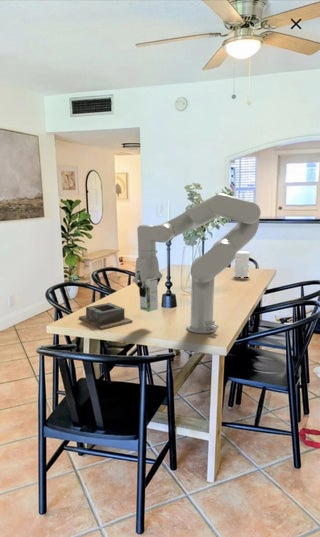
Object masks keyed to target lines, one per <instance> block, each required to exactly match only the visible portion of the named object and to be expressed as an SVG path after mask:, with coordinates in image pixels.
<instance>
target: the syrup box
mask: <svg viewBox="0 0 320 537" xmlns="http://www.w3.org/2000/svg"><path fill="white" fill-rule="evenodd" d="M141 284H142V283H141ZM144 288H145V297H141V296H140V295H139V303H140V306H139V308H140V311H144V312H148V313H150V312H153V311H156V310H158V309H159V308H158V307H159V303H158V285H157V277H153V278H148V279H146V281H145V285H144Z"/></svg>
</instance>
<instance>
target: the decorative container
mask: <svg viewBox="0 0 320 537" xmlns="http://www.w3.org/2000/svg"><path fill="white" fill-rule="evenodd" d="M250 254H251V252H250V251H245V250H243V251H241V250H239V251H238V252H237V253H236V254H235V258H234V270H233V271H234V272H233V273H234V274H233V275H232V277H233V276H234V277H233V278H235V277H248V276H249V277H250V275H249V267H250V266H249V264H250V261H249V260H250Z"/></svg>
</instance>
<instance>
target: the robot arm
mask: <svg viewBox="0 0 320 537" xmlns="http://www.w3.org/2000/svg"><path fill="white" fill-rule="evenodd" d="M260 216H261V209H260V206H259V205H258V204H257V203H255V202H253V201H249V200H245V199H242V198H238V197H234V196H231V195H228V194H226V193H216V194H215V195H213V196H211V197H210V198H208V199H206V200H203V201H201V202H200V203H198V204H196V205H193V206H191V207H190V208H188V209H187V210H185V211H183V213H181V214H180V215H177V216H175V217H174V218H172V219H170V220H167V221H166V222H163V223H161V224H157V225H153V224H141V225H138V227H137V230H136V231H137V252H138V254H137V256H138V257H137V258H136V262H135V276H134V278H133V279H132V282H133V283H134V284H135V285H136V286H137V287H138V291H139V297H140V296H141V297H145V288H144V285H145V281H146V279H148V278H153V277H157V286H159V284H160V283H159V282H160V281H161V279H162V278H163V274H162V273H161V271H160V264H159V260H158V256H157V253H158V250H157V248H156V247H157V246H156V243H163V244H164V243H168V242H169V241H171V240H172V239H174V238H176V237H177V236H179V235H181V234H183V233H186V232H187V231H191V230H194V229H198V228H199V227H202V226H204V225H206V224H207V223H209V222H211V221H214V220H216V219H218V218H219V217H222V218H225V219H227V220H232V221H234V222H235V221H236V222H237V223H236V225H235V226H234V227H233V228H232V229H231V230H230V231H229V232H227V233H226V234H225V235H224V236H223V237H221V238H220V239H218V240H217V241H216V242H215V243H214V244H213V245H212V246H211V248H210V249H209V250H208V251H207V252H205V253H204V254H203V255H200V256H198V257H196V258H195V259H193V262H192V264H191V267H190V276H191V285H190V286H191V292H190V294H191V295H190V297H191V298H190V299H191V300H190V323H188V324H187V325H186V329H187V331H189V332H192V333H196V334H211V333H214V332H216V331H218V328H219V325H218V324H217V323H215V322H216V321H215V319H214V295H215V277H216V276H218V275H219V274H221V272H223V271H225V269H226V268H228V266H230V265H231V264H232V263H233V262H234V261H235V254H236V253H237V252H238V251H241V250H242V249H243V248H244V247H245V246H246V245H247V244H249V243H250V241H251V240H252V239H253V238H254V237H255V236H256V233H258V232H257V231H258V229H259V227H260V226H259V225H260ZM141 283H142V284H141Z"/></svg>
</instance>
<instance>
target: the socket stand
mask: <svg viewBox="0 0 320 537" xmlns="http://www.w3.org/2000/svg"><path fill="white" fill-rule="evenodd" d="M85 314H86V315H85ZM85 314H84V315H81V316H78V319H79V320H81V321H83V322H85V323H87V324H89V325H91V326H94V328H95V327H96V328H98V329H99V330H106V329H110V328H114V327H119V326H123V324H124V325H128V324H132V323H133V320H132V319H131V318H128V317H125V308H124V307H122V306H118V305H116V304H113V303H112V302H107V303H102V304H97V305H92V306H87V307H85Z"/></svg>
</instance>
